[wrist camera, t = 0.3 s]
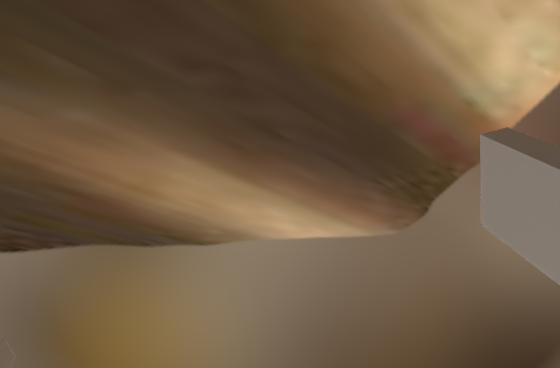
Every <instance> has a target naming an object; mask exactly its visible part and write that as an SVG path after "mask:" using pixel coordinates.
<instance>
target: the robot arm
mask: <svg viewBox="0 0 560 368" xmlns="http://www.w3.org/2000/svg"><path fill="white" fill-rule="evenodd" d="M480 161H481V225H482V226H483V227H484V228H486V229H487V230H488V231H490V232H491V233H492V234H494V235H495V236H496V237H497V238H499V239H500V240H501V241H502V242H504V243H505V244H506V245H508V246H509V247H510V248H512V249H513V250H514V251H516V252H517V253H518V254H519V255H521V256H522V257H523V258H525V259H526V260H527V261H529V262H530V263H531V264H533V265H534V266H535V267H536V268H538V269H539V270H540V271H542V272H543V273H544V274H546V275H547V276H548V277H550V278H551V279H552V280H553V281H555V282H556V283H557V284H559V285H560V147H558V146H555V145H553V144H550V143H548V142H545V141H542V140H540V139H537V138H534V137H532V136H529V135H526V134H524V133H521V132H518V131H516V130H513V129H511V128H508V127H507V128H503V129H499V130H496V131H492V132H488V133H484V134H481V135H480ZM15 358H16V356H15V354H14V353H13V351H12V350H11V348H10V347H9V345H8V343H7V342H6V340H5V339H4V337H3V336H2V334H1V333H0V368H10V367H11V366H12V364H13V362H14V360H15Z"/></svg>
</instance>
